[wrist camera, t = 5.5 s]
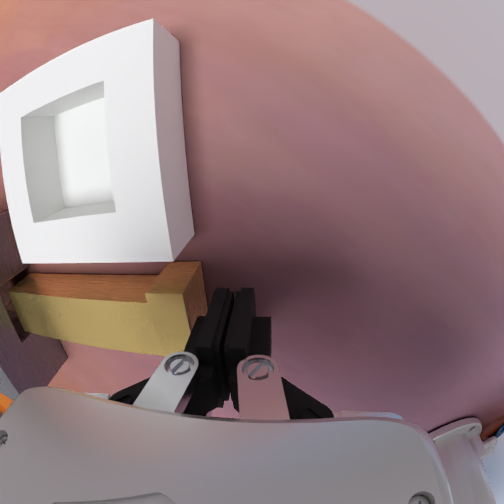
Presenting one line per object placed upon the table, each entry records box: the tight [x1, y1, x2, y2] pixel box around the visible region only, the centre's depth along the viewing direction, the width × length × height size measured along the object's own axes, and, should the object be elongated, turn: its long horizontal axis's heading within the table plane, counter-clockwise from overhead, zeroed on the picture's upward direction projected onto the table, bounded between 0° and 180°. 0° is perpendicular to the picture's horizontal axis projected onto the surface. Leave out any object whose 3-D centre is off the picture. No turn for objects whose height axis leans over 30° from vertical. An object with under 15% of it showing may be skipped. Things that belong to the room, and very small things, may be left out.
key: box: [8, 261, 208, 358], centre depth 13 cm, size 13×4×3 cm, turn 93°
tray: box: [0, 19, 195, 263], centre depth 10 cm, size 9×9×3 cm
